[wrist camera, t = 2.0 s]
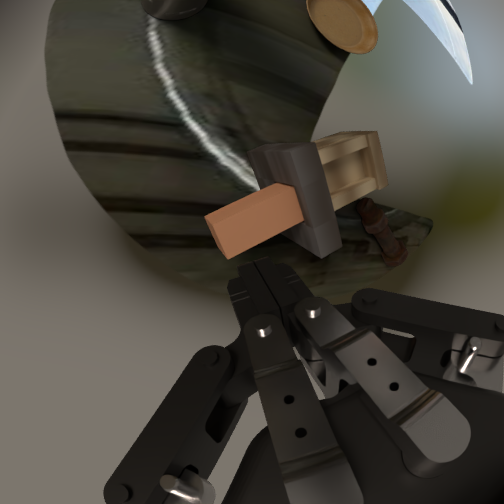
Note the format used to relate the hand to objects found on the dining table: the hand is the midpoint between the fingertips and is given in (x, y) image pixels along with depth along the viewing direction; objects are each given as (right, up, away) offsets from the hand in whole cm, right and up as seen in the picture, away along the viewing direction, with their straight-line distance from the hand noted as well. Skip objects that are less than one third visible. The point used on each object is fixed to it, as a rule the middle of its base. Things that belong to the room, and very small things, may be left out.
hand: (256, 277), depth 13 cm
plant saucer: (+14, +40, +19) cm, 46 cm away
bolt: (+22, +6, +35) cm, 42 cm away
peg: (+1, +6, +19) cm, 20 cm away
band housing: (+8, +13, +26) cm, 30 cm away
